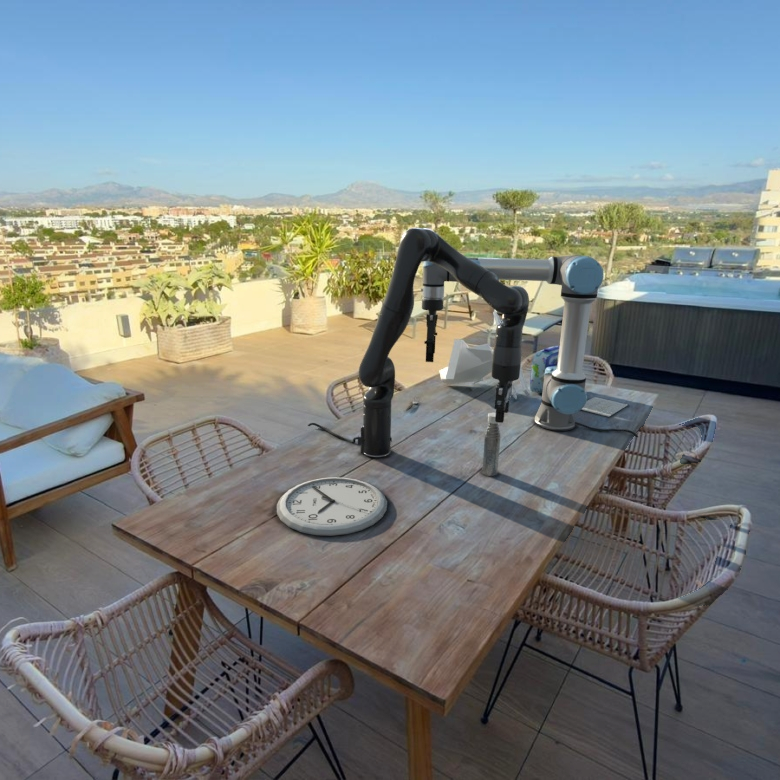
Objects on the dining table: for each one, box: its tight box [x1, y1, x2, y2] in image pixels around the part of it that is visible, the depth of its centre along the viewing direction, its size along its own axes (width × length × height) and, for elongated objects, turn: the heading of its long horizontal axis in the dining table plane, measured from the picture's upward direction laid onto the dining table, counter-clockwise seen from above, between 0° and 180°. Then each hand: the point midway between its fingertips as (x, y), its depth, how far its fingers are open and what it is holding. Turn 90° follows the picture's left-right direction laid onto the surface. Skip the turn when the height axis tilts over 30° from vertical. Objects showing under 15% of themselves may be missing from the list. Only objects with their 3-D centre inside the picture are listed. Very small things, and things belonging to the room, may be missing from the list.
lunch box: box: [529, 345, 560, 394], centre depth 244 cm, size 26×11×21 cm, turn 135°
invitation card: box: [580, 396, 629, 418], centre depth 226 cm, size 21×1×15 cm
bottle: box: [481, 422, 501, 477], centre depth 161 cm, size 5×5×19 cm
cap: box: [487, 412, 500, 425], centre depth 158 cm, size 4×4×2 cm
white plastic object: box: [438, 310, 531, 400], centre depth 245 cm, size 37×45×31 cm
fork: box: [405, 396, 421, 411], centre depth 222 cm, size 3×16×2 cm, turn 160°
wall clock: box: [276, 476, 388, 537], centre depth 142 cm, size 30×2×30 cm
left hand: (501, 417), depth 147 cm, fingers open, 8 cm apart
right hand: (430, 357), depth 190 cm, fingers open, 13 cm apart
